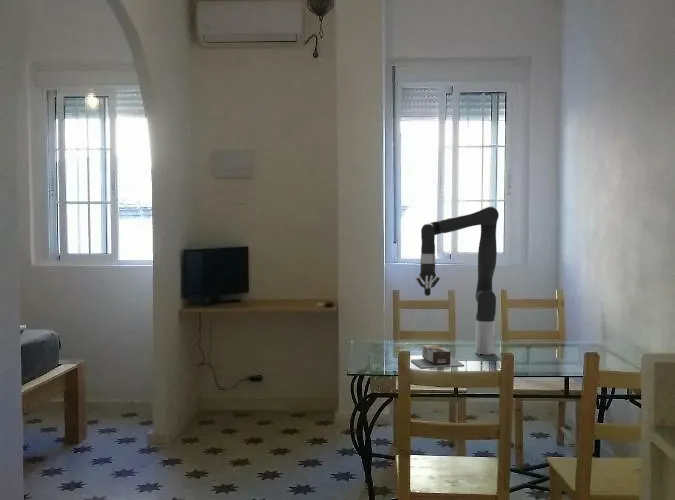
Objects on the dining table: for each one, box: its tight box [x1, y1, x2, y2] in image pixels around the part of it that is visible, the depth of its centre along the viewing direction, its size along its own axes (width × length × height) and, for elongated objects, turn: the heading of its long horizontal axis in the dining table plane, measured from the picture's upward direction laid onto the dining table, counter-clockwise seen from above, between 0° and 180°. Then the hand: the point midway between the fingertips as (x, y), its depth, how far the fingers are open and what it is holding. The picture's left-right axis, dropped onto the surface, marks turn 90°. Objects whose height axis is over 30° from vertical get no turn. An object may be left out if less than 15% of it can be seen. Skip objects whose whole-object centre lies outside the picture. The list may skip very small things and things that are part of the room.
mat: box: [410, 356, 465, 370], centre depth 374 cm, size 22×16×1 cm
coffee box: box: [421, 344, 451, 365], centre depth 376 cm, size 9×6×16 cm
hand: (427, 295), depth 399 cm, fingers closed
